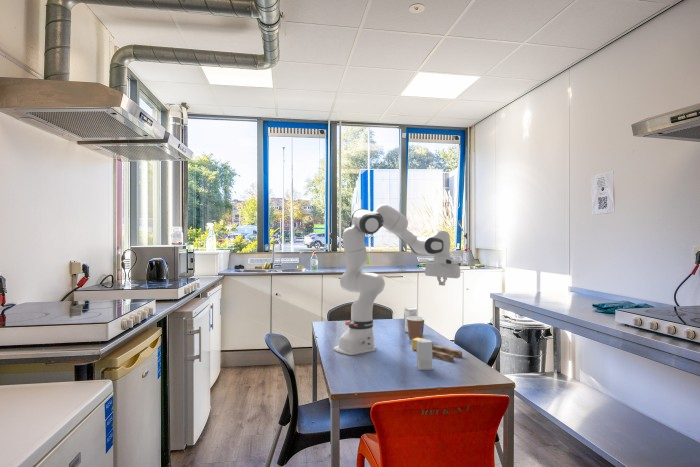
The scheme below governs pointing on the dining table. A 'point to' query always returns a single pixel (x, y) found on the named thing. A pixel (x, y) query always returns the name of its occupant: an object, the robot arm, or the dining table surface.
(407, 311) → the syrup box
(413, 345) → the ochre block
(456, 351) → the chute
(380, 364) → the dining table surface
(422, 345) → the skincare box
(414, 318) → the coffee cup
